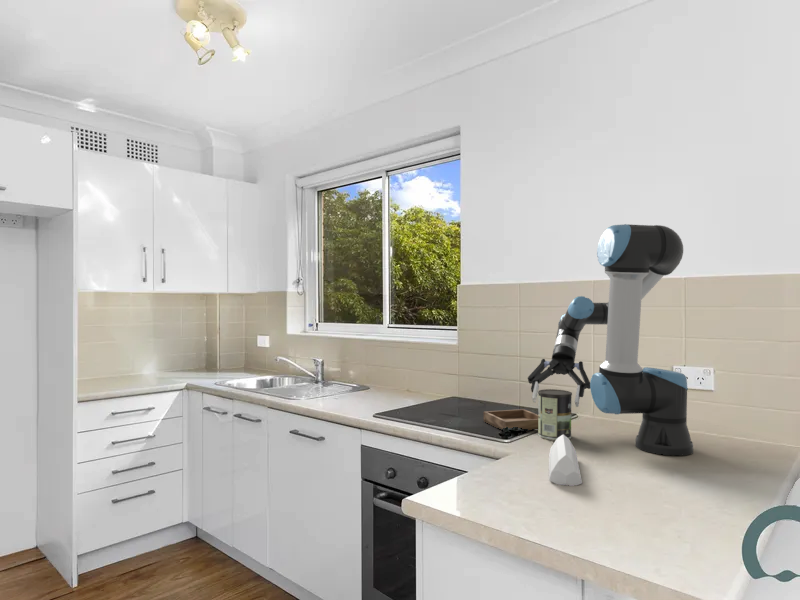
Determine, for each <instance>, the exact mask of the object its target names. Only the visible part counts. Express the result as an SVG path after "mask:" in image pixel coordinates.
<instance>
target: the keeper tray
mask: <svg viewBox="0 0 800 600" xmlns="http://www.w3.org/2000/svg"><path fill="white" fill-rule="evenodd" d="M482 415H483V421H484V422H483V423H485V422H486V424H487V423H488V425H489V424H490V426H491V425H492V427H493V426H494V427H493V428H495V427H496V428H495V429H497V428H499V429H503V428H506V427H508V428H513V427H518V428H522V429H528V430H532V429H538V414H537V413H535V412H532V411H530V410H527V409H525V408H521V409H520V408H519V409H506V410H488V411H487V410H485V411H483V413H482ZM499 429H498V430H499Z"/></svg>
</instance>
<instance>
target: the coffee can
mask: <svg viewBox="0 0 800 600" xmlns="http://www.w3.org/2000/svg"><path fill="white" fill-rule="evenodd" d="M537 395H538V404H537V405H538V414H537V415H538V430H537V433H538V434H537V436H538V437H539V438H542V439H545V440H548V441H549V440H550V441H556V439H557V438H558V437H560V436H561V435H563V434H564V435H565V436H566V437H567V438H568V439H569V440H570V439H572V396H573V392H571V391H570V390H564V389H557V388H556V389H553V388H552V389H551V388H550V389H549V388H548V389H545V388H544V389H540V390H539V389H538V394H537Z"/></svg>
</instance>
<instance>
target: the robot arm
mask: <svg viewBox="0 0 800 600" xmlns="http://www.w3.org/2000/svg"><path fill="white" fill-rule="evenodd" d="M596 255H597V261H598V263H599V265H601V266H602V267H604V273H605V274H606V275H607V276H608V278H609V286H608V287H609V288H608V290H609V291H608V301H607V302H593V301H592V300H591V298H588V297H585V296H583V295H581V296H577V297H575V298H574V299H572V301H571V302H570V303H569V305H568V306H567V310H566V312H565V313H564V314H562V315H561V316H560V318H559V322H558V326H557V332H556V336H555V341H554V345H553V350H552V355H551V359H550V360H546V359H545V358H542V359H541V360H540V363H539V364H538V365H537V367H536V368H535V369H534V370H533V371H532V372H531V373H530V374H529V375H528V377H527V380H528V381H527V382H528V384H529V385H530V384H531V386H530V391H531V393H532V396H531V399H532V402H533V403H536V401H537V399H538V398H537V397H538V395H539V394H538V391H539V388H540V384H541V383H542V382H544V381H545V380H546V379H547V378H549V377H551V376H554V375H555V374H556V375H563V376H564V375H568V376H569V377H571V379H572V380H573V381H574V382H575V384H577V387H576V392H575V398H574V404H575V407H576V408H578V407H579V404H580V398H583V397H584V395H585V391H586V389H588V390H589V389H590V394H591V397H592V400H593V402H594V405H595V406H596V408H597V409H598V410H599V411H600V412H601V413H604V414H612V415H613V414H614V415H620V414H621V415H622V414H623V415H624V414H631V415H632V414H633V415H634V414H642V418H641V423H640V426H639V430H638V433H637V435H636V436H635V447H636V448H637V449H639V450H641V451H645V452H647V453H651V454H655V453H656V454H657V455H661V454H663V455H664V456H670V455H684V456H689V455H688V454H690V455H692V454H693V453H694V442H693V441H692V439H691V435H690V432H689V428H688V425H687V421H688V420H687V419H688V418H687V415H688V413H687V412H688V409H687V408H688V391H689V389H688V380H687V377H686V375H685V374H684V373H681V372H679V371H674V370H669V369H662V368H657V367H648V366H646V367H641V366H640V364H639V361H638V358H639V344H640V343H639V342H640V326H641V310H642V309H641V307H642V300H643V299H644V298H645V297H646V296H647V295H648V293H650V291H651V290H652V289H653V288H654V287H655V286H656V285H657V284H658V283H659V282H660V281H661V280H662V279H663V277H664V276H669V275H670V274H673V272H674V271H675V270H676V269H677V267H678V266H679V265H680V263H681V261H682V259H683V255H684V245H683V241H682V239H681V237H680V235H679V234H678V233H677V232H676V231H675V230H674V229H672V228H670V227H669V226H665V225H659V224H658V225H657V224H655V225H652V224H650V225H648V224H627V223H625V224H614V225H611V226H610V225H609V226H608V227H607V228H606V229H604V231H603V233H602V234H601V236H600V238H599V241H598V244H597V250H596ZM586 325H607V327H606V342H605V343H606V344H605V359H604V361H603V362H602V363H600V364H599V370H598V372H595V373H593V374H592V375H591V378H590V379H589V377H588V375H587V373H586V371H585V369H584V362H583V360H582V361H581V360H580V361H578V362H575V360H576V355H577V354H576V353H577V349H578V344H579V343H578V342H579V337H580V333H581V332H582V330H583V329H584V327H585V326H586ZM575 368H576V369H577V370H578V371H579V373H580V375H581V377H582V379H583V380H582V379H581V378H580V377H579V376H578V375H577V373H576V372H575V371H574V369H575ZM691 453H692V454H691ZM656 454H655V455H656Z"/></svg>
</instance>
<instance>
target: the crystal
mask: <svg viewBox="0 0 800 600" xmlns="http://www.w3.org/2000/svg"><path fill="white" fill-rule="evenodd" d="M577 455H578V454H577V451H576V448H575V447H574V445H573V443H572V441H571V440H570V439H568V438H567V437H566V436H565V435H564V434H563V435H561V436H560V437H558V438H557V439H556V440H554V442H553V444H552V445H551V447H550V449H549V455H548V476H549V477H548V481H550V482H551V483H554V484H555V485H560V486H568V485H569V487H570V486H571V487H573V486H574V485H576V486H578V485H581V484H583V482H582V481H583V480H582V476H581V475H582V474H581V471H580V466H579V461H578V460H579V459H578V456H577Z"/></svg>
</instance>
